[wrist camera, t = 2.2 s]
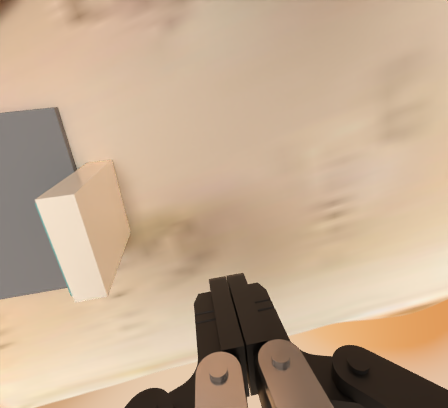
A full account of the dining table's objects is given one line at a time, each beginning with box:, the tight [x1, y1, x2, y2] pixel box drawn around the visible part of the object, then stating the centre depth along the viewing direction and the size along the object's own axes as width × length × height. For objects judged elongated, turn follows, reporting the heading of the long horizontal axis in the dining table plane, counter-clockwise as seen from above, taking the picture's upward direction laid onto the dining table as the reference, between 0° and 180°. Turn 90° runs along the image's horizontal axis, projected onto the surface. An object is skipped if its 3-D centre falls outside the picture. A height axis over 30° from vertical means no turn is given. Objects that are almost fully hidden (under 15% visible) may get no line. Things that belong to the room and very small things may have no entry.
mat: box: [0, 107, 77, 299], centre depth 23 cm, size 16×11×1 cm
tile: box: [35, 160, 131, 302], centre depth 20 cm, size 7×2×9 cm, turn 6°
